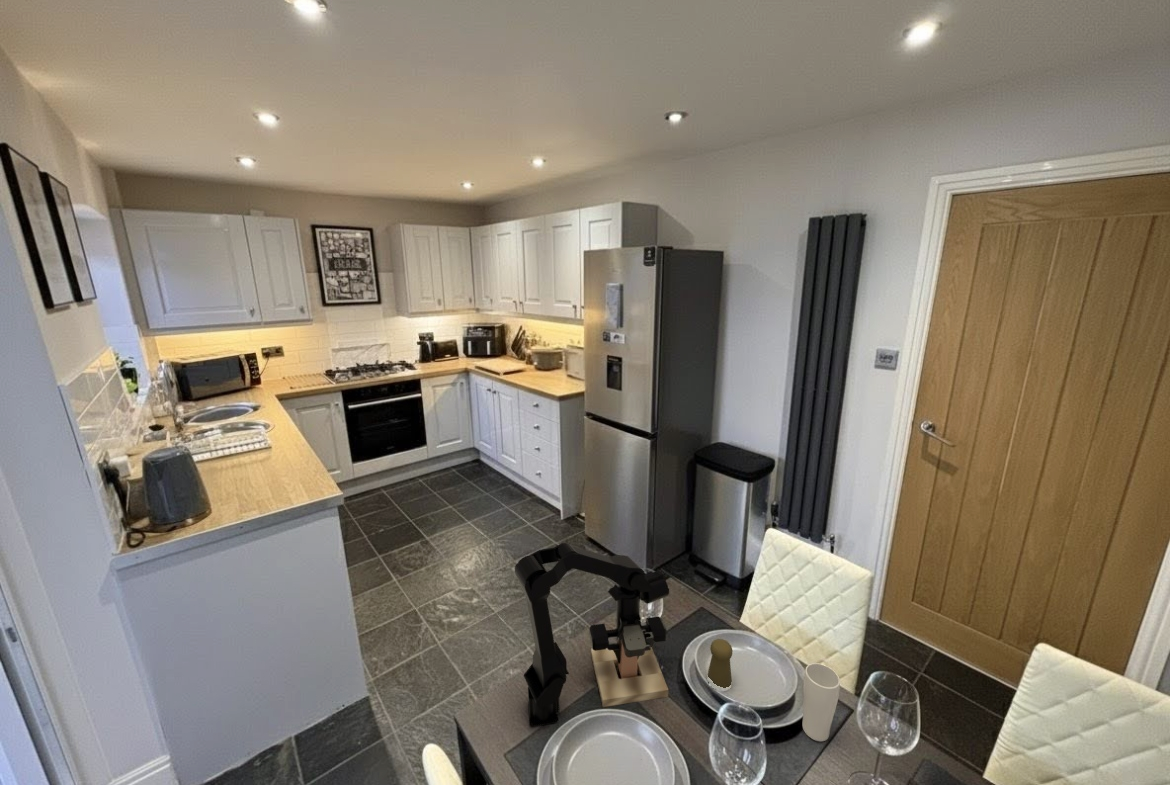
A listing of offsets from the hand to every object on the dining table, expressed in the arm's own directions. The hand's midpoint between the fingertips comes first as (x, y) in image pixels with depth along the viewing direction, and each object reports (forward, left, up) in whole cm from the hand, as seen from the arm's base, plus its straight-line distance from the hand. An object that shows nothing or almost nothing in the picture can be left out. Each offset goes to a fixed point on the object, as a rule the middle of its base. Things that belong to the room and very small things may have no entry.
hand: (627, 661), depth 116 cm
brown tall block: (0, 0, -3) cm, 3 cm away
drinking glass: (+37, -22, -4) cm, 43 cm away
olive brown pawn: (+22, -6, -4) cm, 23 cm away
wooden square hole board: (0, 0, -4) cm, 4 cm away
